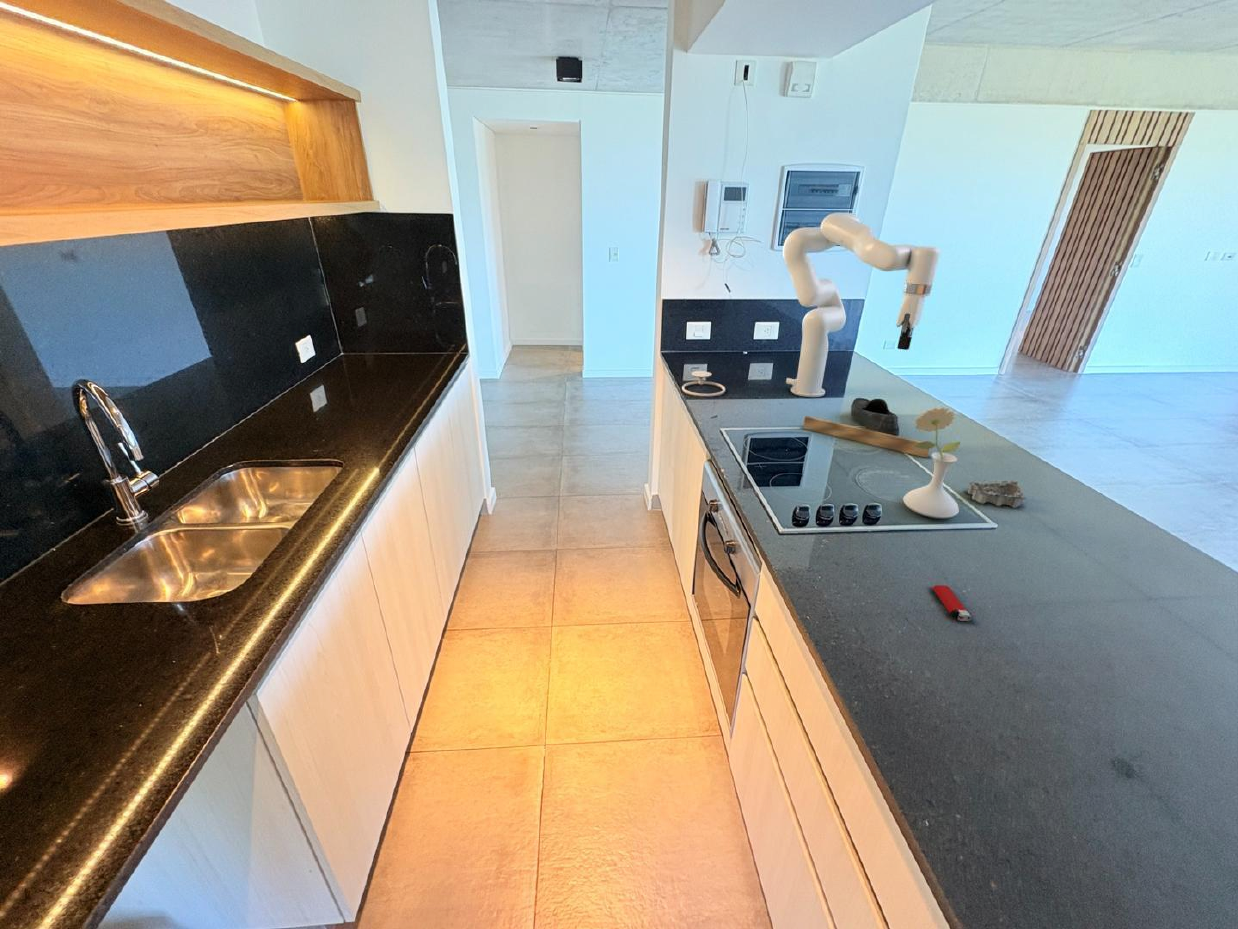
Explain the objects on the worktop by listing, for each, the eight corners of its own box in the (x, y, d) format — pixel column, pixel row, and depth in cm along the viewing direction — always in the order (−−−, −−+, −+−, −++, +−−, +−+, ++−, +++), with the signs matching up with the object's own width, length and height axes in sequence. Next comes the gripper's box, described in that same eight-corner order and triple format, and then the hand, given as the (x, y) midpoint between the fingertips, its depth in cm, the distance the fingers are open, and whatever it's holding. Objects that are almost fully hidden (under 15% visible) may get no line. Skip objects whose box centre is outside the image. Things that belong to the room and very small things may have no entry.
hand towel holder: (684, 386, 197) (679, 371, 215) (683, 397, 199) (678, 381, 217) (729, 385, 197) (720, 370, 215) (728, 397, 199) (720, 381, 217)
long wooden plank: (803, 428, 170) (804, 416, 168) (804, 427, 171) (806, 415, 169) (926, 457, 150) (930, 444, 148) (927, 456, 151) (931, 443, 149)
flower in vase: (954, 504, 126) (985, 404, 115) (959, 527, 116) (994, 421, 106) (893, 493, 131) (918, 396, 120) (894, 515, 121) (920, 412, 111)
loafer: (869, 412, 183) (876, 384, 179) (910, 445, 157) (918, 413, 153) (840, 412, 184) (845, 384, 179) (875, 445, 157) (883, 413, 153)
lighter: (950, 585, 96) (972, 615, 89) (948, 591, 97) (970, 621, 90) (934, 584, 97) (955, 614, 89) (932, 590, 97) (953, 620, 90)
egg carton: (1014, 496, 130) (1020, 481, 128) (1024, 510, 123) (1030, 495, 122) (965, 488, 133) (969, 474, 131) (972, 502, 127) (977, 487, 125)
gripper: (909, 286, 170) (896, 343, 178) (897, 291, 160) (884, 351, 168) (935, 288, 166) (921, 346, 174) (925, 293, 155) (910, 355, 163)
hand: (903, 348), depth 171 cm, fingers closed
